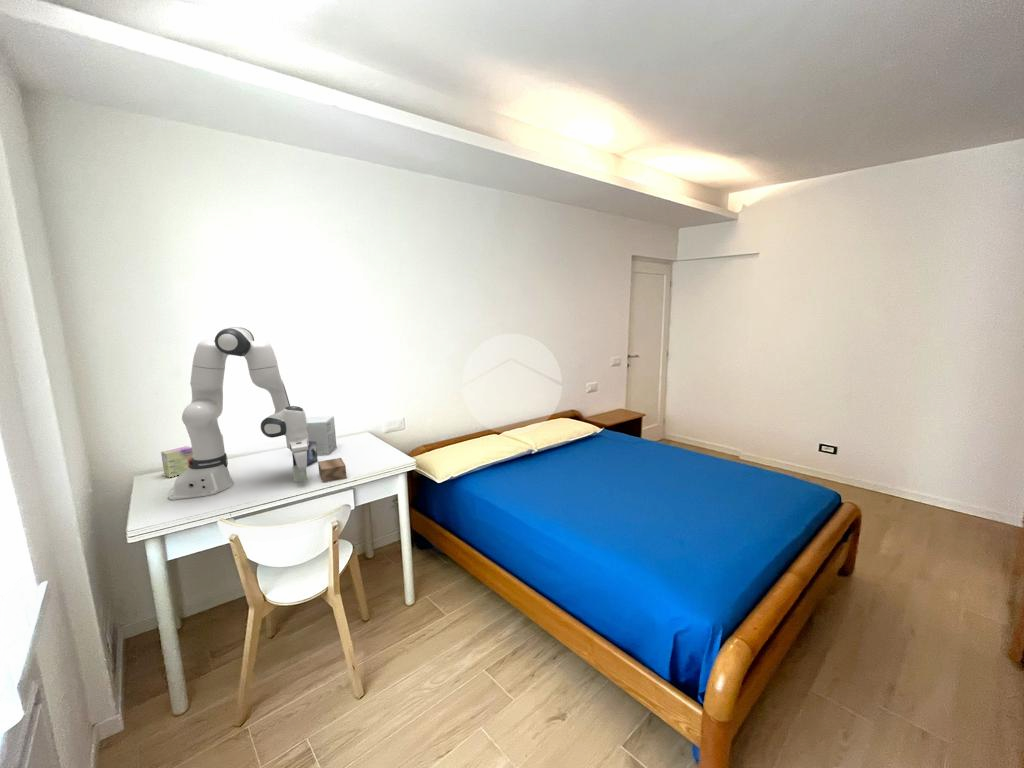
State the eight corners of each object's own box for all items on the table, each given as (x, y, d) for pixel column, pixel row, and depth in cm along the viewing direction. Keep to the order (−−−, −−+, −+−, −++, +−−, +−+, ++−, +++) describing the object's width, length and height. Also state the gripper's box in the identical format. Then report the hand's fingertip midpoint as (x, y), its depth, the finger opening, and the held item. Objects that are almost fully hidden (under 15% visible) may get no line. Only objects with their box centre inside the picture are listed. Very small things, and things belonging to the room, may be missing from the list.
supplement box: (337, 447, 236) (334, 415, 233) (329, 455, 223) (326, 422, 219) (305, 448, 234) (302, 416, 231) (295, 456, 221) (291, 423, 218)
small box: (304, 468, 204) (302, 447, 202) (292, 467, 205) (290, 447, 203) (318, 461, 214) (316, 441, 212) (307, 460, 215) (305, 440, 214)
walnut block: (322, 482, 187) (321, 469, 186) (319, 473, 197) (318, 461, 196) (346, 478, 192) (345, 465, 191) (341, 469, 202) (340, 457, 201)
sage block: (294, 482, 187) (293, 469, 186) (294, 478, 192) (292, 466, 191) (307, 480, 190) (306, 467, 189) (306, 476, 194) (304, 464, 193)
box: (190, 469, 205) (186, 445, 203) (195, 471, 202) (192, 447, 200) (164, 476, 196) (160, 451, 194) (169, 478, 193) (165, 453, 191)
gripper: (288, 437, 195) (291, 466, 198) (291, 449, 178) (295, 480, 181) (303, 435, 199) (306, 463, 201) (308, 446, 181) (311, 477, 184)
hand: (301, 471), depth 191 cm, fingers open, 8 cm apart
